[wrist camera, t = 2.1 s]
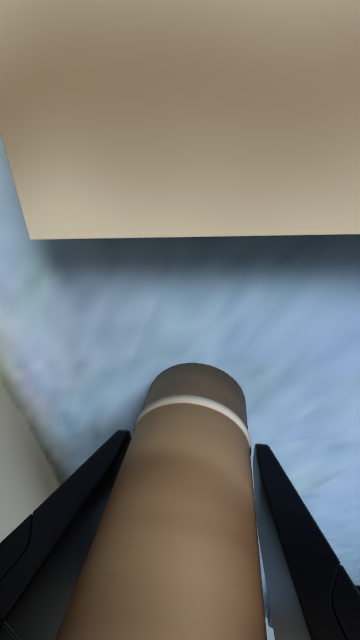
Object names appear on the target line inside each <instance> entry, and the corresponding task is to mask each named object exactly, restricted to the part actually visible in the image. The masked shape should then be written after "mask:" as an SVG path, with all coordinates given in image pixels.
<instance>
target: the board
mask: <svg viewBox="0 0 360 640" xmlns="http://www.w3.org/2000/svg"><path fill="white" fill-rule="evenodd" d="M0 133H1V137H2V140H3V144H4V147H5V151H6V154H7V158H8V162H9V165H10V169H11V172H12V176H13V179H14V183H15V187H16V190H17V194H18V197H19V201H20V205H21V208H22V212H23V215H24V219H25V222H26V226H27V230H28V233H29V237H30V240H32V239H92V238H152V237H212V236H272V235H333V234H360V0H0Z"/></svg>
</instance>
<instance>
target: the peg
mask: <svg viewBox="0 0 360 640" xmlns="http://www.w3.org/2000/svg"><path fill="white" fill-rule="evenodd" d="M250 456H251V442H250V436H249V432H248V426H247V415H246V404H245V397H244V394H243V391H242V389H241V388H240V386H239V385H238V383H237V382H236V381H235V380H234V379H233V378H232V377H231V376H229V375H228V374H227V373H225V372H224V371H222V370H220V369H218V368H215V367H213V366H210V365H205V364H199V363H185V364H179V365H175V366H173V367H170V368H168V369H166V370H165V371H163V372H162V373H160V374H159V375H158V376H157V378H156V379H155V380H154V382H153V384H152V386H151V389H150V391H149V394H148V396H147V399H146V402H145V404H144V407H143V410H142V412H141V413H140V415H139V417H138V419H137V421H136V424H135V427H134V430H133V436H132V439H131V441H130V444H129V446H128V449H127V452H126V454H125V457H124V460H123V462H122V465H121V468H120V470H119V473H118V475H117V478H116V481H115V483H114V486H113V489H112V491H111V494H110V496H109V499H108V502H107V504H106V507H105V510H104V512H103V515H102V517H101V520H100V523H99V525H98V528H97V531H96V533H95V536H94V539H93V541H92V544H91V546H90V549H89V552H88V554H87V557H86V560H85V562H84V565H83V567H82V570H81V573H80V575H79V578H78V581H77V583H76V586H75V588H74V591H73V594H72V596H71V599H70V602H69V604H68V607H67V610H66V612H65V615H64V617H63V620H62V623H61V625H60V628H59V631H58V633H57V636H56V638H55V640H267V634H266V623H265V612H264V601H263V590H262V579H261V568H260V557H259V546H258V535H257V524H256V513H255V502H254V491H253V480H252V470H251V459H250Z"/></svg>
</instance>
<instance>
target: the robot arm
mask: <svg viewBox="0 0 360 640" xmlns="http://www.w3.org/2000/svg"><path fill="white" fill-rule="evenodd" d="M131 439H132V438H131V433H130V431H129V430H118V431H117V432H116V433H115V434H114V435H112V436H111V437H110V438H109V439H108V440H107V441H106V442H105V443H104V444H103V445H102V446H101V447H100V448H99V449H98V450H97V451H96V452H95V453H94V454H93V455H92V456H91V457H90V458H89V459H88V460H87V461H85V462H84V463H83V464H82V465H81V466H80V467H79V468H78V469H77V470H76V471H75V472H74V473H73V474H72V475H71V476H70V477H69V478H68V479H67V480H66V481H65V482H64V483H63V484H62V485H61V486H60V487H59V488H57V490H55V492H53V493H52V494H51V495H50V496H49V497H48V498H47V499H46V500H45V501H44V502H43V503H42V504H41V505H40V506H39V507H38V508H37V509H36V510H35V511H34V512H33V515H32V514H30V515H29V516H28V518H26V519H25V520H24V521H23V522H22V523H21V524H20V525H19V526H18V527H17V528H16V529H15V530H14V531H12V532H11V533H10V534H9V535H8V536H7V537H6V538H5V539H4V540H3V541H2V542H1V543H0V640H55V638H56V636H57V633H58V631H59V628H60V625H61V623H62V620H63V617H64V615H65V612H66V610H67V607H68V604H69V602H70V599H71V596H72V594H73V591H74V588H75V586H76V583H77V581H78V578H79V575H80V573H81V570H82V567H83V565H84V562H85V560H86V557H87V554H88V552H89V549H90V546H91V544H92V541H93V539H94V536H95V533H96V531H97V528H98V525H99V523H100V520H101V517H102V515H103V512H104V510H105V507H106V504H107V502H108V499H109V496H110V494H111V491H112V489H113V486H114V483H115V481H116V478H117V475H118V473H119V470H120V468H121V465H122V462H123V460H124V457H125V454H126V452H127V449H128V446H129V444H130V441H131ZM253 477H254V496H255V512H256V522H257V529H258V535H259V541H260V548H261V554H262V560H263V567H264V573H265V579H266V586H267V592H268V598H269V605H270V608H269V612H268V616H267V617H268V625H269V626H270V627H272V628H273V630H274V636H275V640H360V589H357V588H356V586H355V585H354V583H353V582H352V580H351V578H350V577H349V575H348V574H347V572H346V570H345V569H344V567H343V566H342V565H340V561H339V559H338V558H337V556H336V554H335V553H334V551H333V549H332V548H331V546H330V545H329V543H328V541H327V540H326V538H325V536H324V535H323V533H322V532H321V530H320V528H319V527H318V525H317V524H316V522H315V520H314V519H313V517H312V515H311V514H310V512H309V511H308V509H307V507H306V506H305V504H304V502H303V501H302V499H301V498H300V496H299V494H298V493H297V491H296V489H295V488H294V486H293V485H292V483H291V481H290V480H289V478H288V476H287V475H286V473H285V472H284V470H283V468H282V467H281V465H280V463H279V462H278V460H277V459H276V457H275V455H274V454H273V452H272V450H271V449H270V447H269V446H268V445H266V444H255V448H254V456H253Z"/></svg>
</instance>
